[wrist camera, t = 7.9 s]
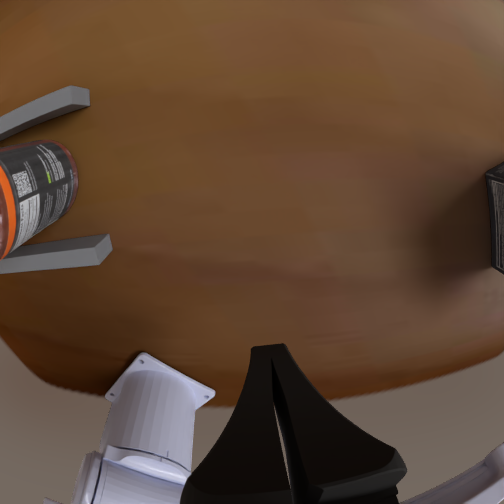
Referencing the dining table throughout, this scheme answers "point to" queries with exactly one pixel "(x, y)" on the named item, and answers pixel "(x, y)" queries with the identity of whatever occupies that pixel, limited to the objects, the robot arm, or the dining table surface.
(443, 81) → the dining table surface
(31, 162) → the supplement bottle
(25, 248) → the grey u-shaped bracket
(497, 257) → the small box
